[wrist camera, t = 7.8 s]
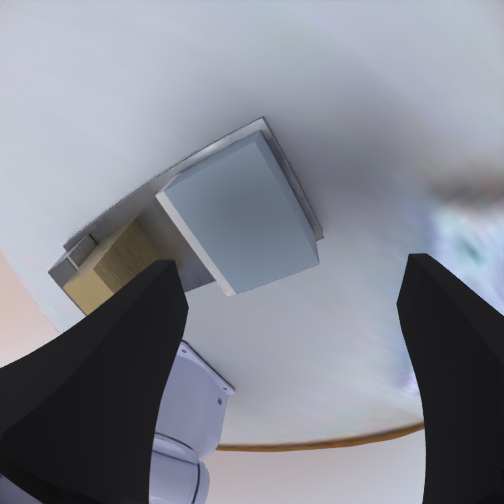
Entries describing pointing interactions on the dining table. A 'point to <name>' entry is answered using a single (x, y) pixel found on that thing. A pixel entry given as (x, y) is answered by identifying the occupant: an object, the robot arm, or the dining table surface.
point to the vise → (168, 217)
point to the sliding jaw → (241, 216)
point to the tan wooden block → (111, 266)
